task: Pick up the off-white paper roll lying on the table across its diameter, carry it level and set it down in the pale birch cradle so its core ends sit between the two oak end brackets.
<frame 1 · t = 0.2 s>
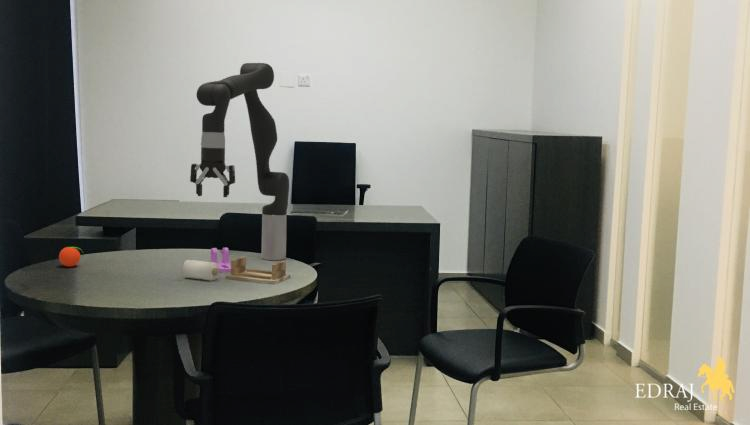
hand: (212, 196, 248), 28 cm above the table, fingers open, 8 cm apart
bracket: (223, 270, 270), on the table
clementine: (71, 267, 264), on the table
roll: (200, 279, 252), on the table
cradle: (258, 278, 256), on the table
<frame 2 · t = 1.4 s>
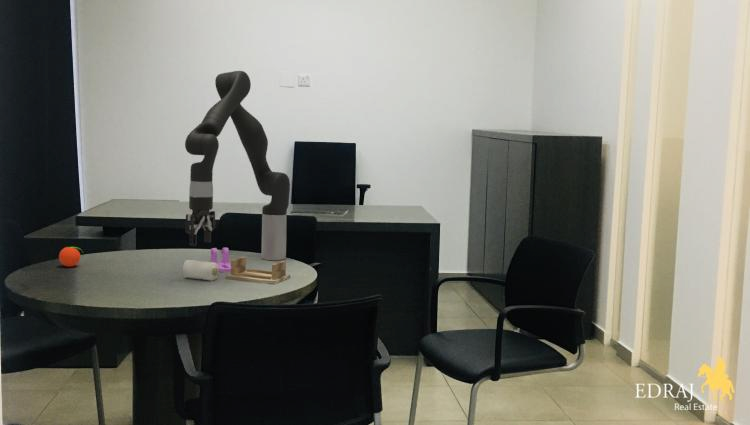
hand: (200, 244, 251), 12 cm above the table, fingers open, 8 cm apart
nothing on the table moved.
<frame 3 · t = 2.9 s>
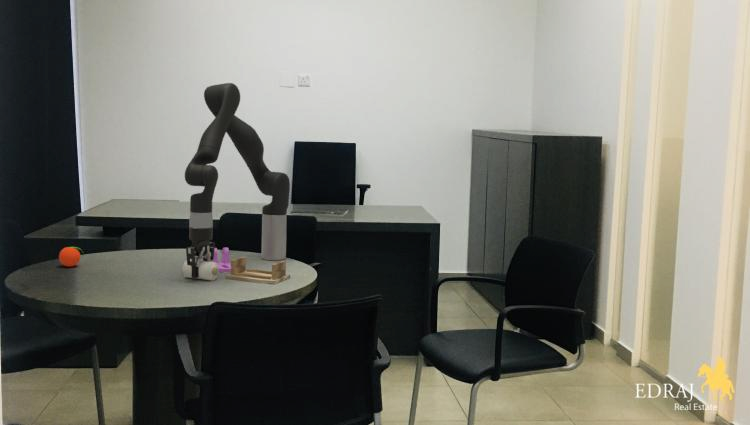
hand: (200, 275, 252), 1 cm above the table, fingers closed on roll, 6 cm apart
roll: (200, 278, 252), on the table, touching gripper
everything else where it was.
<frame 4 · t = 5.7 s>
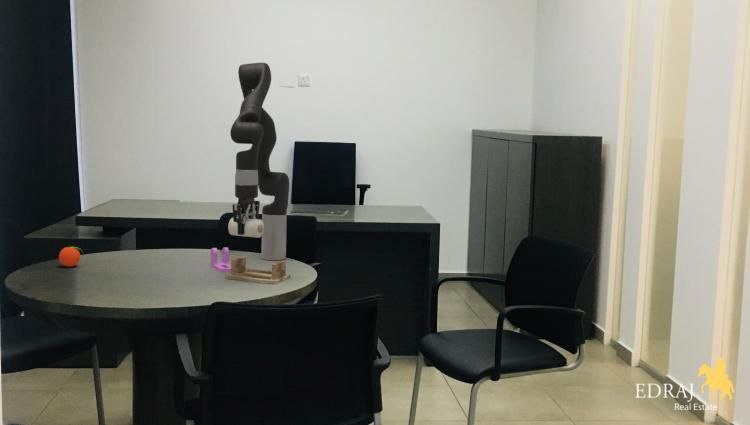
hand: (246, 233, 254), 15 cm above the table, fingers closed on roll, 6 cm apart
roll: (246, 236, 254), point 14 cm above the table, touching gripper
everything else where it was.
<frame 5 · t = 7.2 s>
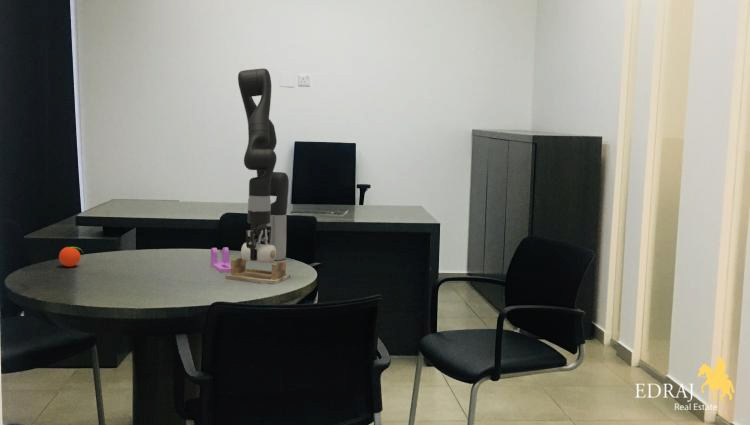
hand: (258, 258, 255), 7 cm above the table, fingers closed on roll, 6 cm apart
roll: (258, 261, 256), point 6 cm above the table, touching gripper
everything else where it was.
when the fingers open (3 cm above the table, at t = 8.5 s): roll stays where it is, resting on cradle.
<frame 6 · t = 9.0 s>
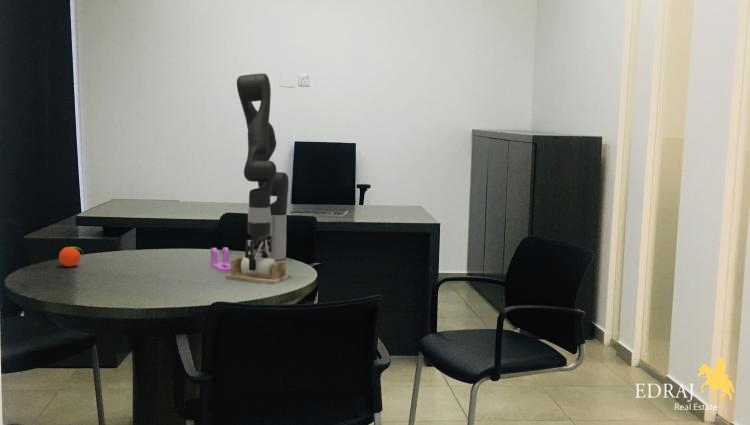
hand: (258, 268, 256), 3 cm above the table, fingers open, 8 cm apart
roll: (258, 275, 256), point 1 cm above the table, touching cradle
everything else where it was.
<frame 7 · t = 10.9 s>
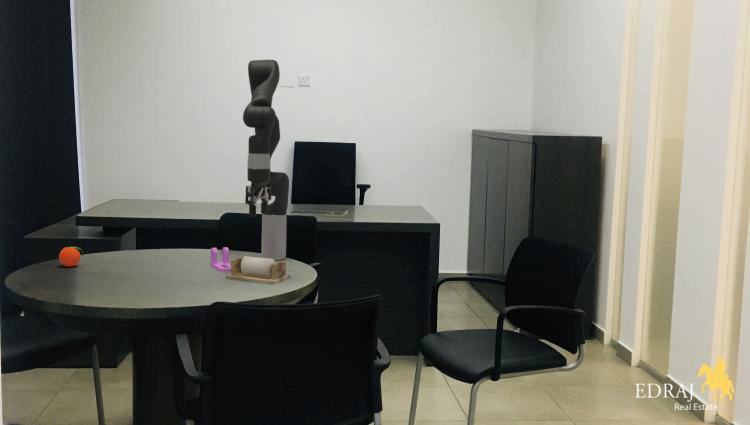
hand: (258, 215, 256), 21 cm above the table, fingers open, 8 cm apart
nothing on the table moved.
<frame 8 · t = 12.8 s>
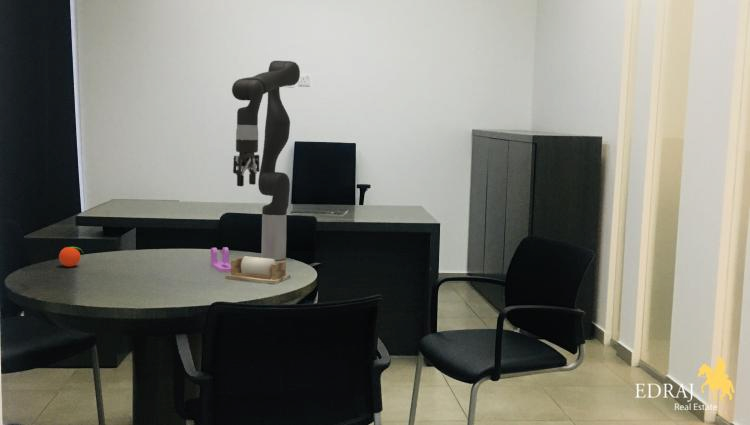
hand: (246, 185, 264), 30 cm above the table, fingers open, 8 cm apart
nothing on the table moved.
at the end: roll 0.1 cm off-centre on the cradle, point 1.0 cm above the cradle's base; roll moved 18.9 cm from its start; the gripper is holding nothing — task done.
